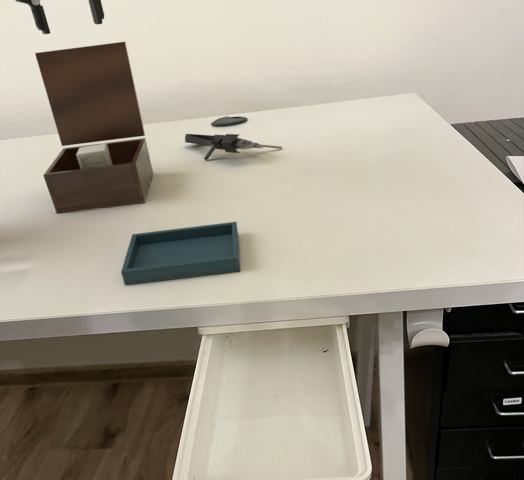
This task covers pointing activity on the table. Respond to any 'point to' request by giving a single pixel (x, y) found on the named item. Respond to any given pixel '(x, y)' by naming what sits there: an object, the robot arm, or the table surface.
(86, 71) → the lid
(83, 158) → the small box
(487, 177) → the table surface
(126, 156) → the chest
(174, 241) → the tray
